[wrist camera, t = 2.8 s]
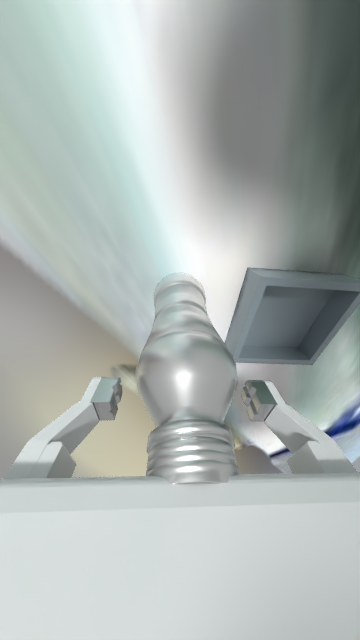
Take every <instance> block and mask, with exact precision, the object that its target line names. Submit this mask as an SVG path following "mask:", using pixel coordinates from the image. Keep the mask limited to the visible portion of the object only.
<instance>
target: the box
mask: <svg viewBox="0 0 360 640" xmlns="http://www.w3.org/2000/svg"><path fill="white" fill-rule="evenodd" d="M359 303H360V280H359V279H356V278H353V277H350V276H347V275H344V274H330V273H316V272H303V271H289V270H275V269H262V268H247V271H246V275H245V278H244V281H243V285H242V288H241V291H240V295H239V298H238V301H237V305H236V308H235V311H234V315H233V318H232V321H231V325H230V328H229V331H228V335H227V338H226V341H225V345H226V347H227V348H228V349H229V351H230V353H231V355H232V357H233V359H234V361H235V362H239V363H271V364H302V365H313V363H314V362H315V361H316V359H317V358H318V357H319V355H320V354H321V353H322V352H323V350H324V349H325V348H326V346H327V345H328V344H329V342H330V341H331V340H332V338H333V337H334V336H335V335H336V333H337V332H338V331H339V329H340V328H341V327H342V325H343V324H344V323H345V322H346V320H347V319H348V318H349V316H350V315H351V314H352V312H353V311H354V310H355V308H356V307H357V306H358V305H359Z"/></svg>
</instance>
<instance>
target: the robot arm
mask: <svg viewBox="0 0 360 640" xmlns="http://www.w3.org/2000/svg"><path fill="white" fill-rule="evenodd" d="M120 383H121V379H120V378H117V377H94V378H93V379H92V380H91V382H90V384H89V386H88V388H87V390H86V392H85V393H84V395H83V397H82V399H81V401H80V402H78V403H76V404H74V405H73V406H72V407H71V408H69V409H68V410H67V411H66V412H64V413H63V414H62V415H61V416H59V417H58V418H57V419H56V420H54V421H53V422H52V423H50V424H49V425H48V426H47V427H45V428H44V429H43V430H42V431H40V432H39V433H38V434H37V435H36V436H34V437H33V438H32V439H30V440H29V441H28V443H27V444H26V445H25V447H24V448H23V450H22V451H21V453H20V454H19V456H18V458H17V459H16V460H15V462H14V463H13V465H12V466H11V468H10V469H9V471H8V472H7V474H6V475H5V477H4V478H3V479H0V640H360V472H357V471H356V470H355V468H354V467H353V465H352V464H351V463H350V461H349V460H348V459H347V457H346V456H345V455H344V453H343V452H342V451H341V449H340V448H339V446H338V445H337V444H336V442H335V441H334V440H333V439H332V438H330V437H329V436H328V435H327V434H325V433H324V432H323V431H321V430H320V429H319V428H318V427H316V426H315V425H314V424H312V423H311V422H310V421H309V420H307V419H306V418H305V417H303V416H302V415H301V414H300V413H298V412H297V411H296V410H295V409H293V408H292V407H291V406H289V405H286V403H285V402H284V400H283V398H282V397H281V395H280V394H279V392H278V391H277V389H276V387H275V386H274V384H273V383H272V382H271V381H262V380H248V381H246V383H245V385H246V386H245V387H244V388H243V390H242V399H243V402H244V404H246V405H247V406H248V407H247V412H248V415H249V417H250V420H251V421H265V422H264V423H265V424H266V425H267V426H268V427H269V428H270V429H271V430H272V431H273V433H274V434H275V435H276V436H277V437H278V438H279V439H280V440H281V441H282V442H283V444H284V445H285V446H286V447H287V448H288V449H289V450H290V451H291V452H292V454H293V455H292V456H291V457H290V458H288V460H287V462H288V465H289V467H290V469H291V471H292V473H293V474H247V475H246V474H244V475H234V476H230V478H229V481H228V483H210V482H196V483H183V484H169V482H168V480H166V478H164V477H160V476H135V477H81V478H80V477H78V478H71V477H72V474H73V471H74V469H75V466H76V462H75V460H74V459H73V458H72V456H71V455H70V454H71V453H72V452H73V451H74V450H75V448H76V447H77V446H78V445H79V444H80V443H81V442H82V441H83V439H84V438H85V437H86V436H87V435H88V434H89V433H90V432H91V430H92V429H93V428H94V427H95V426H96V425H97V424H98V422H99V420H115V416H116V413H117V410H118V407H117V404H118V403H119V402H120V400H121V396H122V385H120Z"/></svg>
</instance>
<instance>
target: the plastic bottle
mask: <svg viewBox="0 0 360 640" xmlns="http://www.w3.org/2000/svg"><path fill="white" fill-rule="evenodd" d="M205 302H206V299H205V292H204V289H203V287H202V285H201V284H200V283H199V282H198V281H197V280H196V279H195V278H194V277H192V276H190V275H188V274H185V273H174V274H170V275H168V276H166V277H165V278H164V279H162V281H161V282H160V283H159V284H158V285H157V287H156V289H155V292H154V305H155V320H154V323H153V327H152V330H151V333H150V335H149V337H148V340H147V342H146V344H145V346H144V349H143V351H142V353H141V356H140V359H139V362H138V365H137V368H136V382H137V389H138V392H139V395H140V397H141V399H142V402H143V404H144V406H145V408H146V410H147V412H148V414H149V415H150V417H151V419H152V420H153V422H154V424H155V429H154V430H153V431H152V432H151V433H150V434H149V436H148V444H147V453H148V454H149V456H148V463H147V472H146V476H160V477H164V478H166V480H168V482H169V484H183V483H196V482H210V483H228V481H229V478H230V476H234V475H240V474H239V470H238V466H237V462H236V458H235V453H234V447H235V444H234V439H233V435H232V431H231V430H230V429H229V428H228V427H227V426H225V425H224V422H223V421H224V419H225V417H226V414H227V412H228V410H229V408H230V405H231V403H232V400H233V397H234V393H235V390H236V386H237V371H236V363H235V361H234V359H233V357H232V355H231V353H230V351H229V349H228V348H227V347H226V345H225V343H224V342H223V340H222V339H221V337H220V336H219V335H218V333H217V332H216V330H215V329H214V327H213V325H212V323H211V321H210V319H209V317H208V315H207V311H206V306H205Z"/></svg>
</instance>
